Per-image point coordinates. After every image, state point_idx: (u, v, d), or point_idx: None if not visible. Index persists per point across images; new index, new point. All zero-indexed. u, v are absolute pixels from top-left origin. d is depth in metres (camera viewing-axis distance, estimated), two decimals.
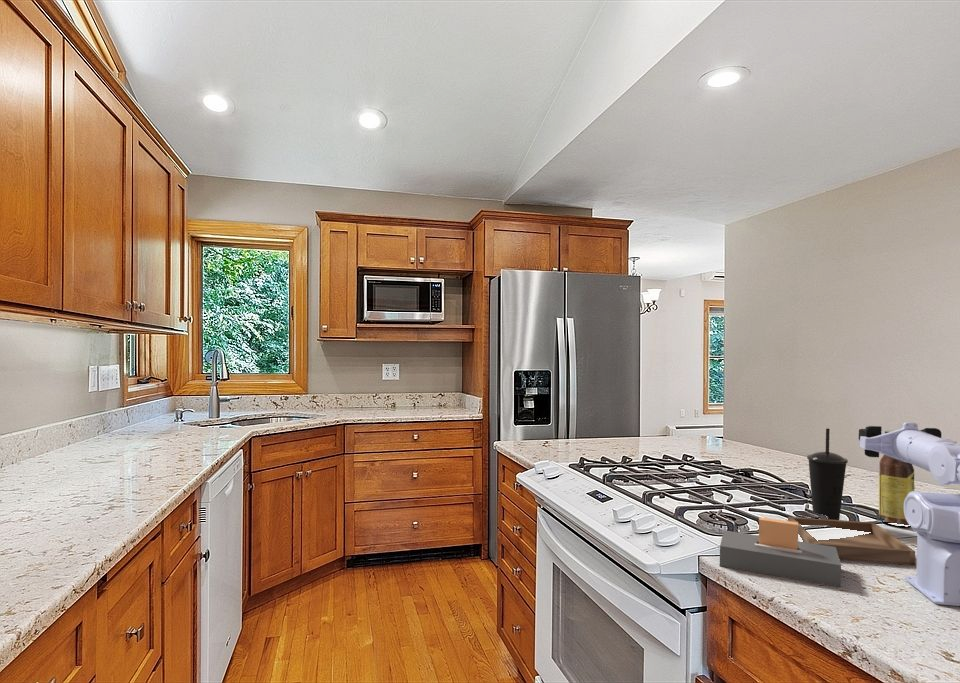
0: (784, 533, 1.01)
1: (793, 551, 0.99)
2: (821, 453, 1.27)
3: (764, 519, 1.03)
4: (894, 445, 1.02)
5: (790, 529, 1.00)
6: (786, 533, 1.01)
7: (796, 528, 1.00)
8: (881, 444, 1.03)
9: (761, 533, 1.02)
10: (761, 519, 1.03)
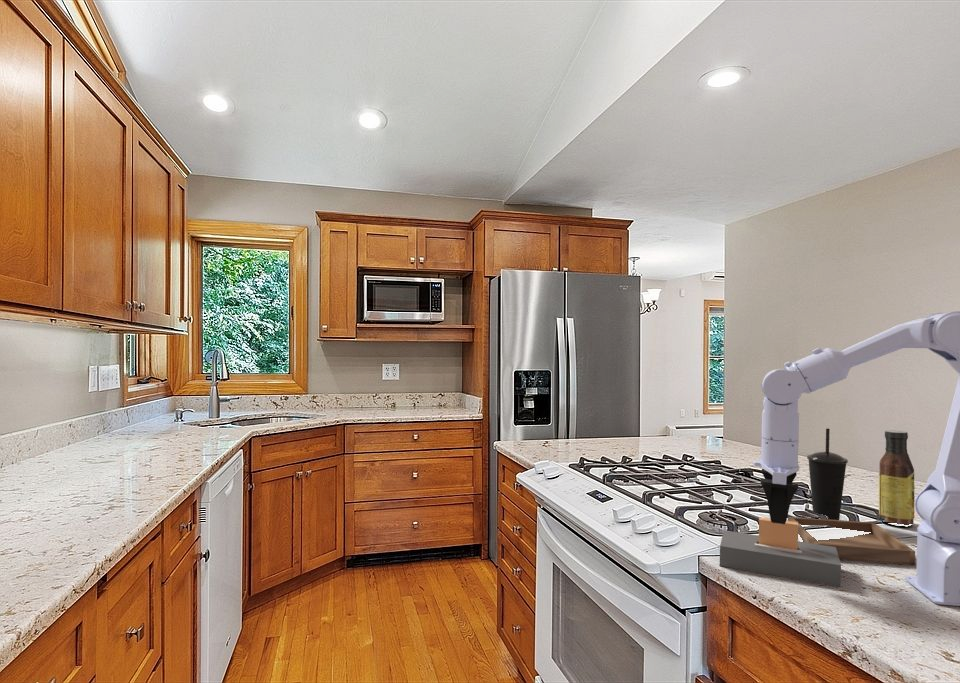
0: (784, 533, 1.01)
1: (793, 551, 0.99)
2: (821, 453, 1.27)
3: (764, 519, 1.03)
4: (779, 463, 0.99)
5: (790, 529, 1.00)
6: (786, 533, 1.01)
7: (796, 528, 1.00)
8: (779, 469, 0.97)
9: (761, 533, 1.02)
10: (761, 519, 1.03)
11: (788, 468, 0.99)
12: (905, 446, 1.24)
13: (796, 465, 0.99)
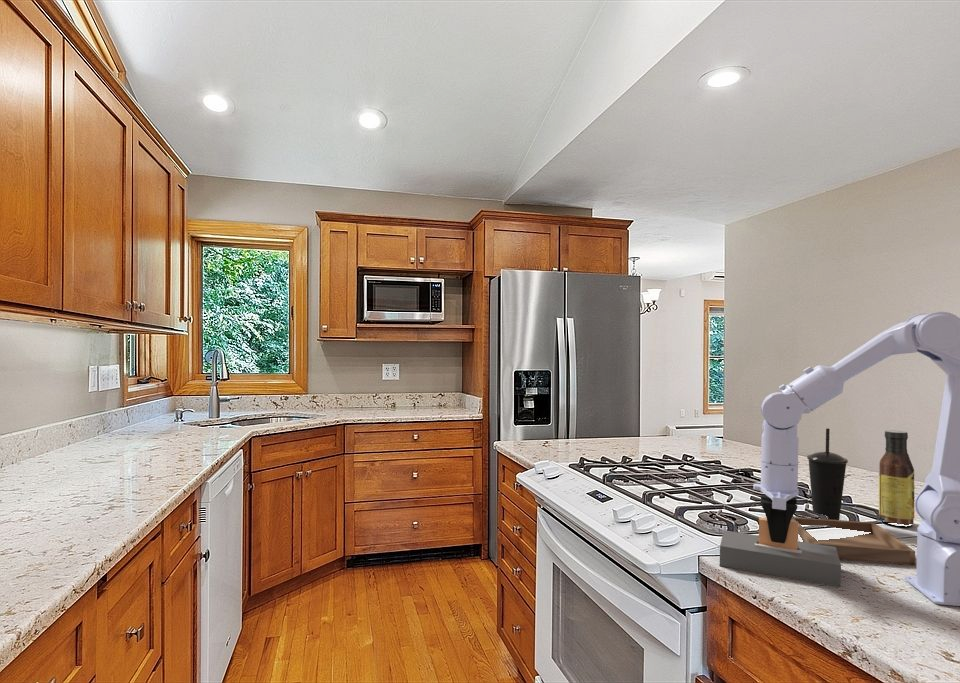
0: None
1: (793, 551, 0.99)
2: (821, 453, 1.27)
3: (764, 519, 1.03)
4: (778, 487, 0.99)
5: (790, 529, 1.00)
6: None
7: (796, 528, 1.00)
8: (779, 493, 0.98)
9: (761, 533, 1.02)
10: (761, 519, 1.03)
11: (788, 492, 0.99)
12: (905, 446, 1.24)
13: (796, 489, 0.99)
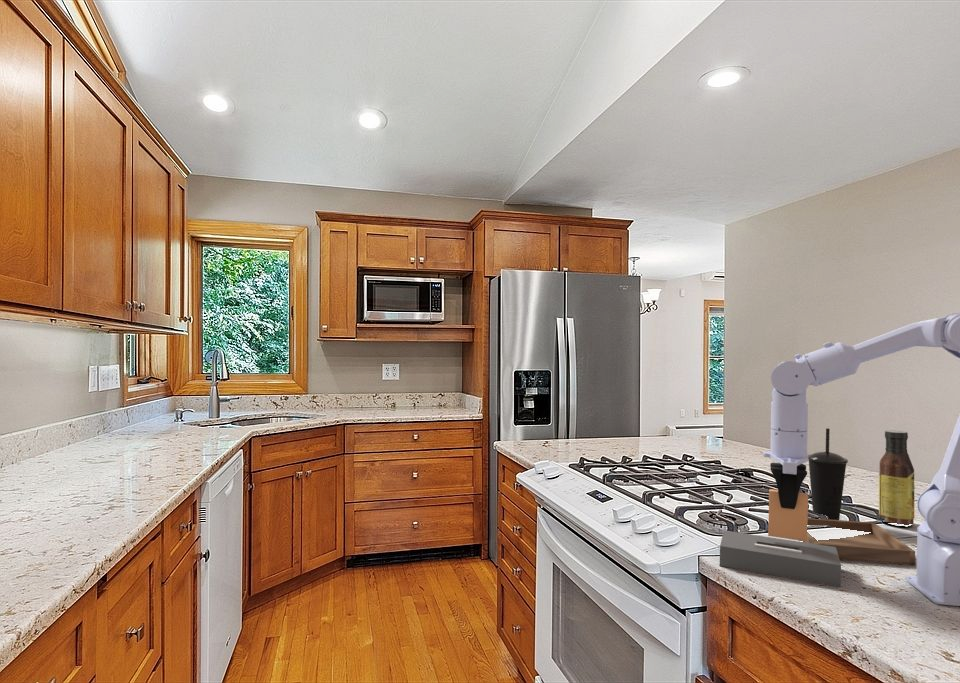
0: None
1: (793, 551, 0.99)
2: (821, 453, 1.27)
3: (774, 490, 1.04)
4: (788, 454, 1.00)
5: (800, 500, 1.01)
6: (796, 504, 1.02)
7: (806, 499, 1.01)
8: (789, 459, 0.99)
9: (772, 504, 1.03)
10: (771, 490, 1.04)
11: (798, 458, 1.00)
12: (905, 446, 1.24)
13: (805, 455, 1.01)
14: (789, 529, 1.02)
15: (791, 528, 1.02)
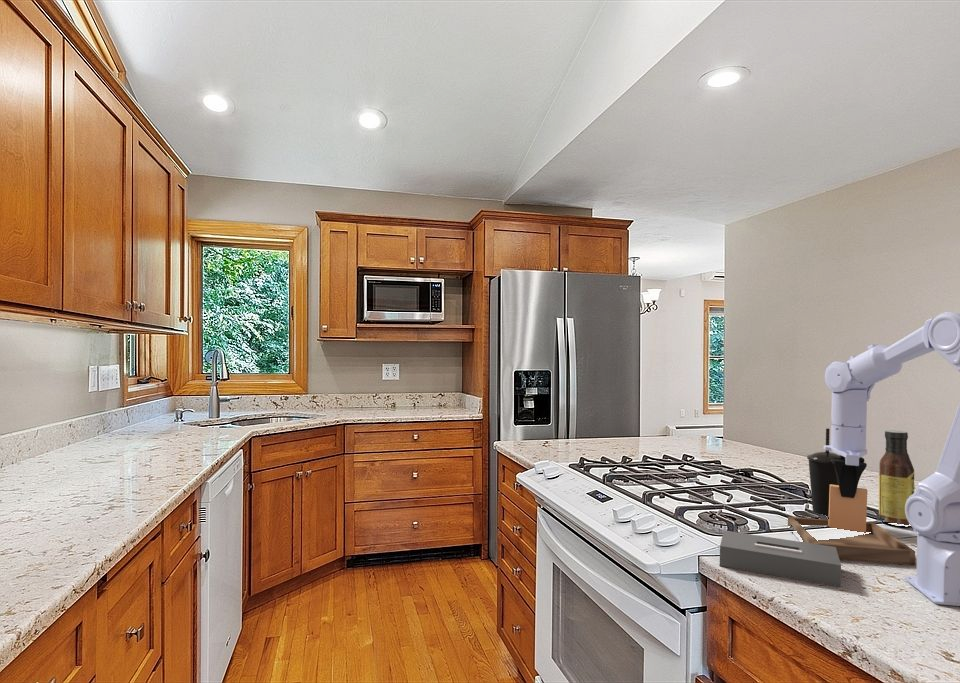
0: (854, 498, 1.11)
1: (793, 551, 0.99)
2: (821, 453, 1.27)
3: (835, 485, 1.13)
4: (849, 447, 1.10)
5: (860, 494, 1.11)
6: (856, 498, 1.11)
7: (865, 493, 1.10)
8: (850, 452, 1.08)
9: (832, 498, 1.13)
10: (832, 486, 1.13)
11: (858, 451, 1.09)
12: (905, 446, 1.24)
13: (864, 449, 1.10)
14: (849, 521, 1.11)
15: (851, 520, 1.11)
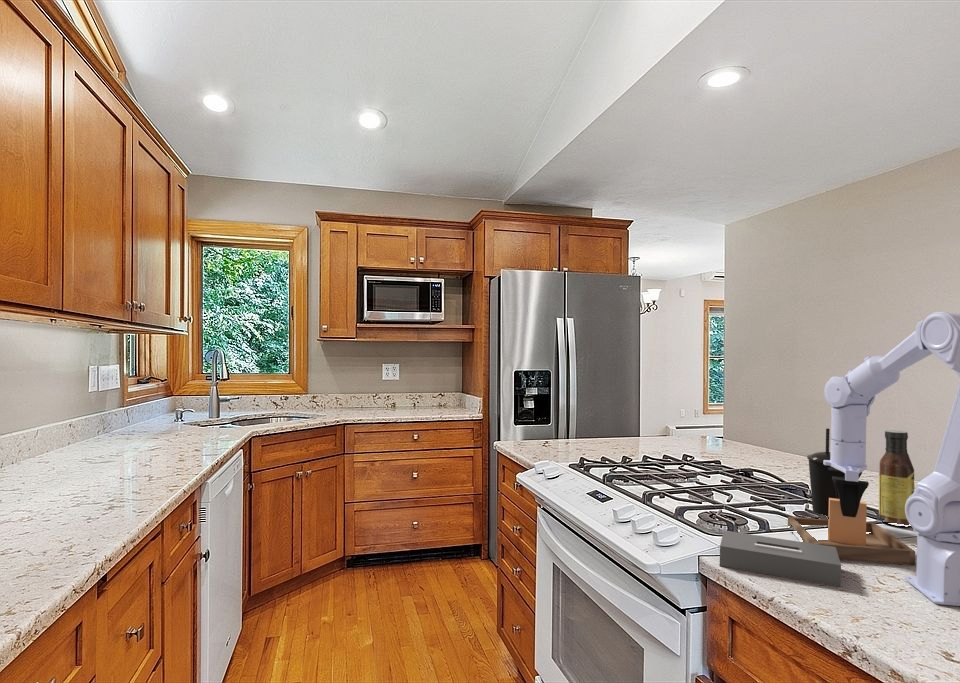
0: None
1: (793, 551, 0.99)
2: (821, 453, 1.27)
3: (834, 499, 1.13)
4: (849, 462, 1.10)
5: (859, 508, 1.11)
6: None
7: (865, 507, 1.10)
8: (850, 467, 1.08)
9: (832, 512, 1.13)
10: (831, 499, 1.13)
11: (857, 467, 1.09)
12: (905, 446, 1.24)
13: (864, 464, 1.10)
14: (849, 535, 1.12)
15: (851, 534, 1.11)
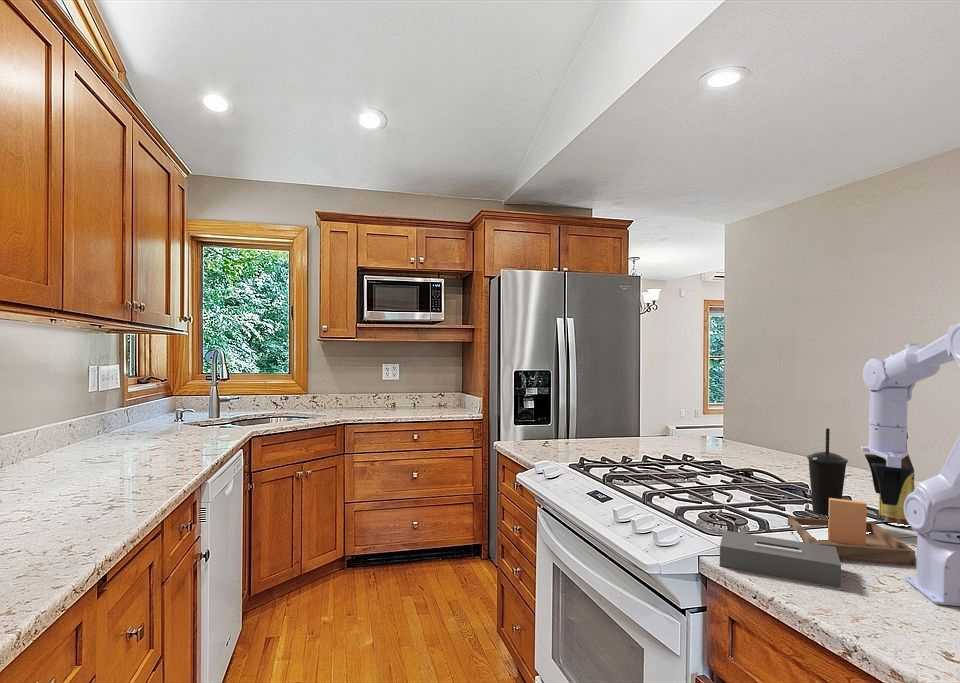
0: (853, 512, 1.11)
1: (793, 551, 0.99)
2: (821, 453, 1.27)
3: (834, 499, 1.13)
4: (889, 448, 1.05)
5: (859, 508, 1.11)
6: (855, 512, 1.11)
7: (865, 507, 1.10)
8: (891, 453, 1.03)
9: (832, 512, 1.13)
10: (831, 499, 1.13)
11: (898, 453, 1.04)
12: None
13: (905, 450, 1.05)
14: (849, 535, 1.12)
15: (851, 534, 1.11)
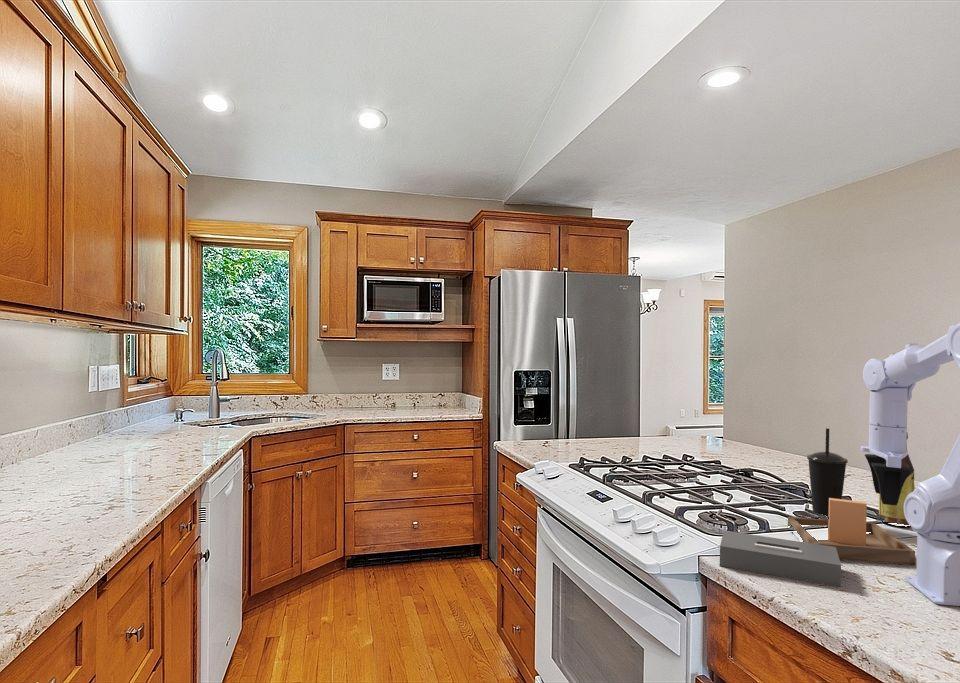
0: (853, 512, 1.11)
1: (793, 551, 0.99)
2: (821, 453, 1.27)
3: (834, 499, 1.13)
4: (889, 448, 1.05)
5: (859, 508, 1.11)
6: (855, 512, 1.11)
7: (865, 507, 1.10)
8: (891, 453, 1.03)
9: (832, 512, 1.13)
10: (831, 499, 1.13)
11: (898, 453, 1.04)
12: None
13: (905, 450, 1.05)
14: (849, 535, 1.12)
15: (851, 534, 1.11)
